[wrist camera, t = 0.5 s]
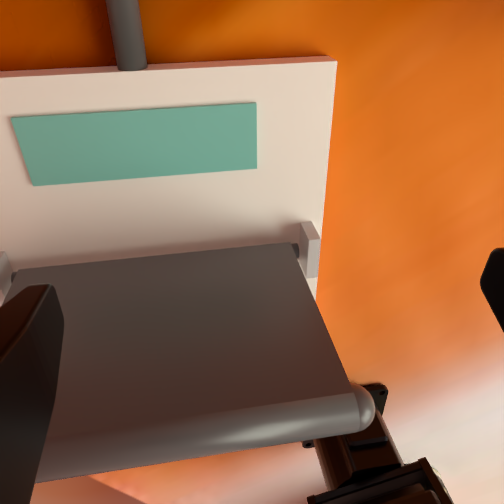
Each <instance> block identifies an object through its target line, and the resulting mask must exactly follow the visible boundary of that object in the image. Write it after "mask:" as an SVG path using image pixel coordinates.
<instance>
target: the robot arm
mask: <svg viewBox="0 0 504 504" xmlns="http://www.w3.org/2000/svg"><path fill="white" fill-rule="evenodd" d="M480 286H481V289H482V292H483V294H484V296H485V297H486V299H487V301H488V303H489V305H490V307H491V309H492V311H493V313H494V315H495V317H496V319H497V321H498V322H499V324H500V326H501V328H502V330H503V332H504V248H496V249H494V250H493V251H492V252H491V254H490V256H489V258H488V261H487V263H486V266H485V268H484V271H483V273H482V276H481V279H480ZM63 335H64V316H63V312H62V309H61V306H60V302H59V299H58V296H57V292H56V289H55V287H54V286H53V285H52V284H51V283H42V284H30V285H28V286H26V287H25V288H23V289H22V290H21V291H20V292H18V293H17V294H16V295H15V296H13V297H12V298H11V299H10V300H8V301H7V302H6V303H4V304H3V305H2V306H1V307H0V504H30V500H31V496H32V492H33V488H34V484H35V480H36V476H37V472H38V468H39V464H40V460H41V456H42V452H43V448H44V444H45V440H46V436H47V432H48V428H49V424H50V420H51V416H52V412H53V408H54V403H55V398H56V391H57V384H58V376H59V368H60V359H61V351H62V343H63ZM363 388H365V389H366V390H367V391H368V392H369V393H370V395H371V396H372V398H373V400H374V404H375V416H374V418H373V421H372V422H371V424H370V425H369V426H368V427H367V428H366V429H364V430H362V431H359V432H355V433H349V434H343V435H337V436H330V437H324V438H318V439H311V440H305V441H301V442H302V445H303V447H304V448H312V447H315V449H316V453H317V456H318V459H319V463H320V466H321V469H322V473H323V476H324V479H325V483H326V486H327V489H328V492H325V493H322V494H319V495H316V496H314V495H311V496H309V497H307V501H308V504H452V502H451V500H450V499H449V497H448V495H447V493H446V492H445V490H444V488H443V486H442V485H441V483H440V481H439V480H438V478H437V476H436V474H435V473H434V471H433V469H432V468H431V466H430V464H429V462H428V461H427V459H426V457H424V458H421V459H418V461H416V462H413V463H411V464H408V465H405V466H404V463H403V461H402V459H401V457H400V455H399V453H398V450H397V448H396V446H395V444H394V442H393V440H392V437H391V435H390V433H389V431H388V429H387V427H386V424H385V422H384V420H383V418H382V414H383V410H384V406H385V403H386V399H387V395H388V389H387V387H386V386H385V385H376V386H369V387H363Z"/></svg>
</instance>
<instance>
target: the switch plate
mask: <svg viewBox="0 0 504 504" xmlns="http://www.w3.org/2000/svg"><path fill="white" fill-rule="evenodd" d="M105 1H106V7H107V12H108V18H109V23H110V29H111V35H112V40H113V46H114V51H115V57H116V62H117V66H102V67H82V68H61V69H40V70H19V71H0V307H1V306H2V303H3V301H4V299H5V297H6V295H7V293H8V291H9V289H10V286H11V284H12V283H11V275H12V273H13V272H17V271H18V270H19V269H27V268H37V267H47V266H57V265H67V264H77V263H86V262H96V261H106V260H116V259H126V258H136V257H146V256H156V255H165V254H175V253H185V252H195V251H205V250H215V249H225V248H235V247H244V246H254V245H264V244H274V243H284V242H290V243H291V244H292V243H297V244H298V246H299V258H297V260H298V262H299V264H300V267H301V269H302V271H303V274H304V276H305V278H306V281H307V283H308V286H309V288H310V290H311V293H312V295H313V297H314V300H315V299H316V288H317V277H318V266H319V255H320V244H321V233H322V222H323V211H324V201H325V190H326V179H327V168H328V157H329V146H330V135H331V124H332V113H333V102H334V91H335V80H336V69H337V61H336V60H335V59H333V58H332V57H330V56H310V57H290V58H269V59H248V60H227V61H206V62H186V63H165V64H147V59H146V52H145V45H144V38H143V31H142V24H141V17H140V10H139V3H138V0H105Z"/></svg>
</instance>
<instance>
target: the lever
mask: <svg viewBox="0 0 504 504" xmlns="http://www.w3.org/2000/svg"><path fill="white" fill-rule="evenodd" d="M297 258H299V246H298V244H297V243H292V244H291V243H290V242H284V243H274V244H264V245H254V246H244V247H235V248H225V249H215V250H205V251H195V252H185V253H175V254H165V255H156V256H146V257H136V258H126V259H116V260H106V261H96V262H86V263H77V264H67V265H57V266H47V267H37V268H27V269H19V270H18V271H17V272H13V273H12V275H11V283H12V284H11V286H10V289H9V291H8V293H7V295H6V297H5V299H4V301H3V303H2V305H3V304H4V303H6V302H7V301H8V300H10V299H11V298H12V297H13V296H15V295H16V294H17V293H18V292H20V291H21V290H22V289H23V288H25V287H26V286H28V285H30V284H42V283H51V284H52V285H53V286H54V287H55V289H56V292H57V296H58V299H59V302H60V306H61V309H62V312H63V316H64V335H63V343H62V351H61V359H60V368H59V376H58V384H57V391H56V398H55V403H54V408H53V412H52V416H51V420H50V424H49V428H48V432H47V436H46V440H45V444H44V448H43V452H42V456H41V460H40V464H39V468H38V472H37V476H36V480H35V483H41V482H47V481H54V480H60V479H66V478H73V477H78V476H85V475H91V474H98V473H104V472H110V471H117V470H123V469H129V468H135V467H142V466H148V465H154V464H161V463H167V462H173V461H179V460H186V459H192V458H198V457H205V456H211V455H217V454H223V453H230V452H236V451H242V450H249V449H255V448H261V447H267V446H274V445H280V444H286V443H293V442H299V441H305V440H311V439H318V438H324V437H330V436H337V435H343V434H349V433H355V432H359V431H362V430H364V429H366V428H367V427H368V426H369V425H370V424H371V422H372V421H373V418H374V416H375V404H374V400H373V398H372V396H371V395H370V393H369V392H368V391H367V390H366V389H365V388H363V387H362V386H360V385H358V384H355V383H350V382H349V380H348V378H347V375H346V373H345V371H344V368H343V366H342V363H341V361H340V359H339V356H338V354H337V352H336V349H335V347H334V345H333V342H332V340H331V338H330V335H329V333H328V330H327V328H326V326H325V323H324V321H323V319H322V316H321V314H320V312H319V309H318V307H317V304H316V302H315V300H314V297H313V295H312V293H311V290H310V288H309V286H308V283H307V281H306V278H305V276H304V274H303V271H302V269H301V267H300V264H299V262H298V260H297Z"/></svg>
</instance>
